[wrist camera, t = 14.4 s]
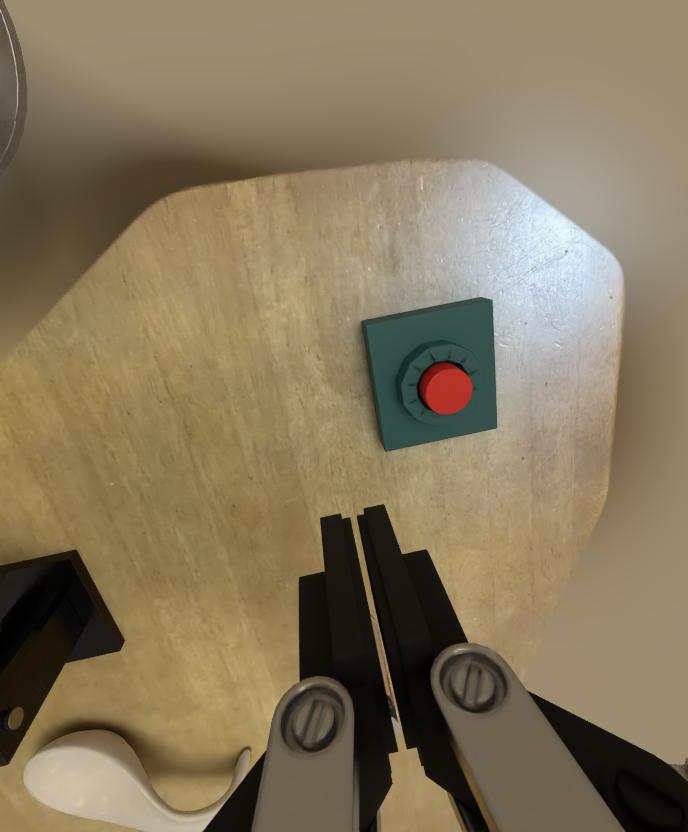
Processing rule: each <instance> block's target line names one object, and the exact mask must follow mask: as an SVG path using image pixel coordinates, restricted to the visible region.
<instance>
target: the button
mask: <svg viewBox="0 0 688 832" xmlns="http://www.w3.org/2000/svg"><path fill="white" fill-rule="evenodd" d="M419 388H420V394H421V397H422V399H423V400H424V401H425V402H426V404H427V405H428V406H429V407H430V408H431V409H432V410H433V411H435V412H437V413H439V414H453V413H456V412H458V411H460V410H461V409H462V408H463V407H465V406H466V404H467V403H468V402H469V400H470V398H471V395H472V383H471V380H470V378H469V376H468V375H467V374H466V373H465V372H463V371H462V370H460V369H459V368H458V367H456V366H454V365H452V364H449V363H441V364H437V365H434V366H433V367H431V368H430V369H428V370H427V371H426V372H425V374H424V375H423V377H422V379H421V381H420V387H419Z"/></svg>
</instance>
